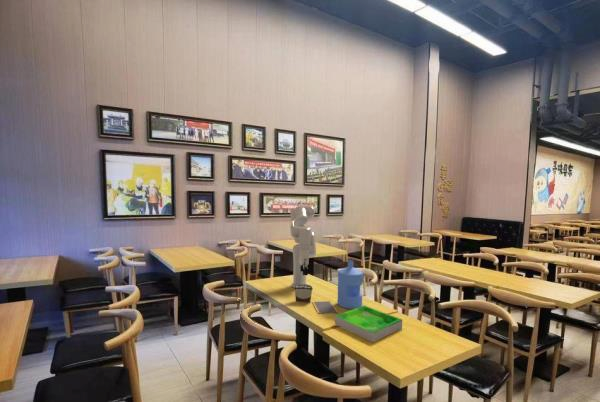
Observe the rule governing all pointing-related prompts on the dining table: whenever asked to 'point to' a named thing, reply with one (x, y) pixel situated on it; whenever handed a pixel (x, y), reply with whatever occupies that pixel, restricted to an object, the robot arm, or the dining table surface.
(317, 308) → the mat
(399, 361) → the dining table surface
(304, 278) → the robot arm
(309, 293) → the food container
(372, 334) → the tray
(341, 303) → the water jug
